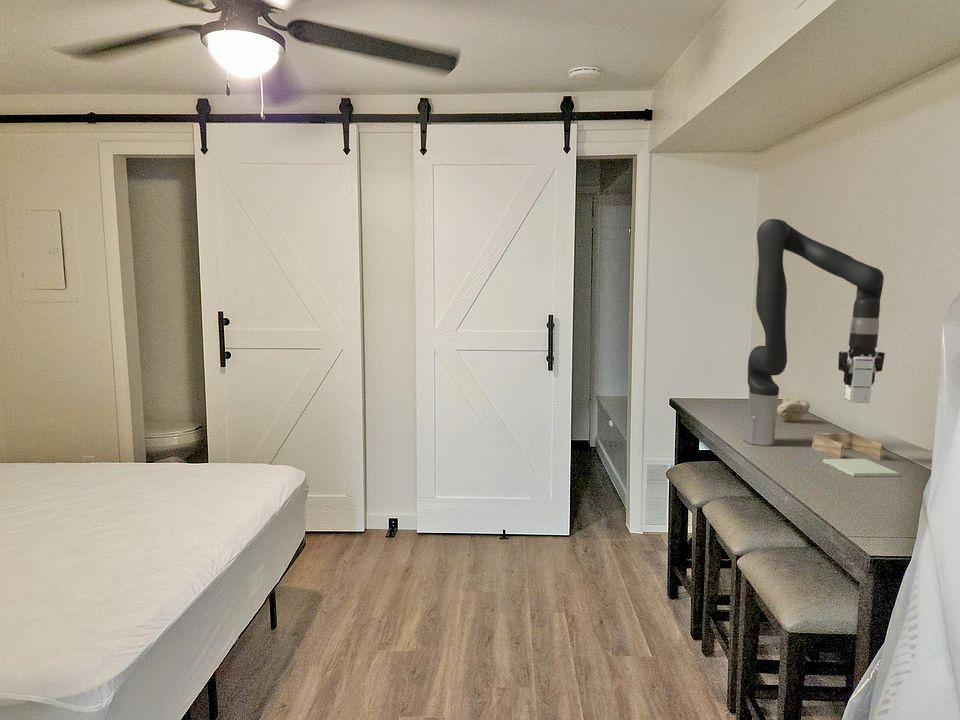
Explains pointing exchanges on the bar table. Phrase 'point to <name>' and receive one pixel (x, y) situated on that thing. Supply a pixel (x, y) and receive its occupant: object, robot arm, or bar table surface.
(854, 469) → the sage mat
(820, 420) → the bar table surface
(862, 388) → the syrup box
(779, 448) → the bar table surface
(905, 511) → the bar table surface
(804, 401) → the decorative item
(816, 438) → the u-shaped pine frame
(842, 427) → the bar table surface
